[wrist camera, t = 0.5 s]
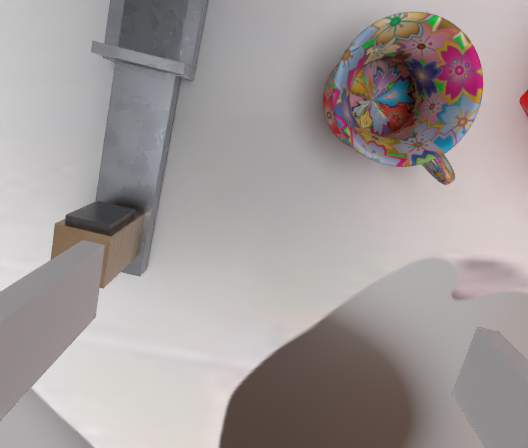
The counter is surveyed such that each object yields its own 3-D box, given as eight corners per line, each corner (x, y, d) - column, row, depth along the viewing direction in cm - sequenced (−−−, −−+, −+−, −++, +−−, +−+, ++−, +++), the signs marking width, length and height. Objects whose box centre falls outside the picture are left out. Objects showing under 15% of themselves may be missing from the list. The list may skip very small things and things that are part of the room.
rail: (126, -41, 35) (67, -104, 25) (211, -19, 35) (186, -74, 25) (84, 254, 41) (24, 296, 31) (157, 271, 41) (120, 318, 31)
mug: (296, 86, 37) (304, 72, 26) (389, 19, 35) (437, -23, 25) (369, 199, 39) (403, 227, 28) (460, 140, 37) (530, 147, 27)
